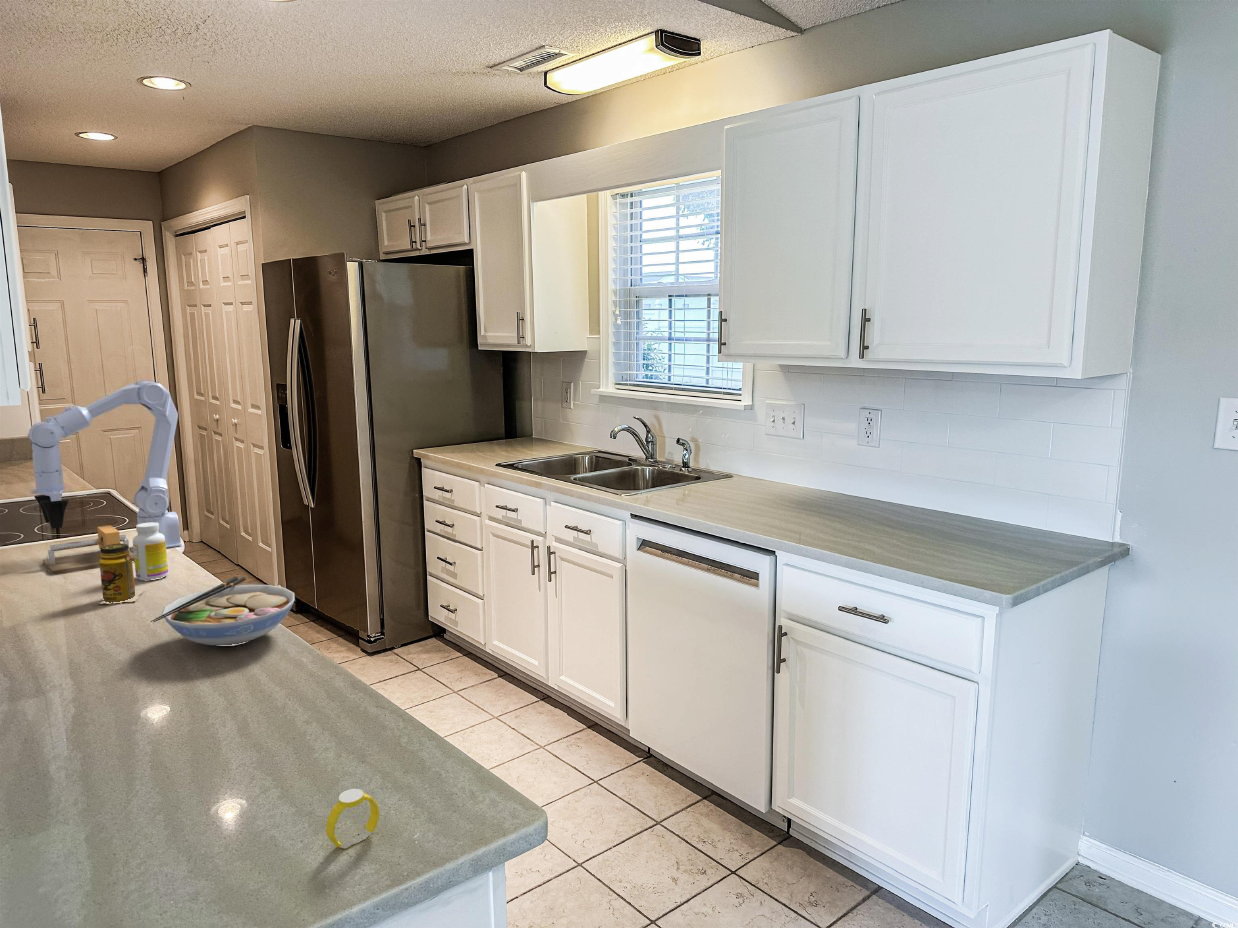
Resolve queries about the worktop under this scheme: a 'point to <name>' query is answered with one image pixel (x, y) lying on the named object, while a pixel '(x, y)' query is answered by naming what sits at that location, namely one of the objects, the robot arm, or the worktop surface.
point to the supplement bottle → (149, 552)
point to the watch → (351, 800)
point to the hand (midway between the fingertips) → (54, 525)
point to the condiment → (116, 573)
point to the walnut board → (76, 563)
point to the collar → (108, 535)
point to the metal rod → (78, 546)
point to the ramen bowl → (229, 612)
